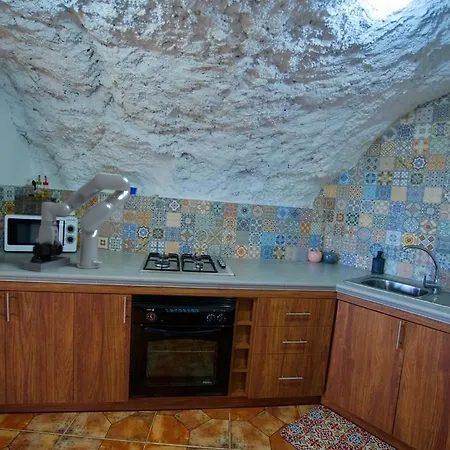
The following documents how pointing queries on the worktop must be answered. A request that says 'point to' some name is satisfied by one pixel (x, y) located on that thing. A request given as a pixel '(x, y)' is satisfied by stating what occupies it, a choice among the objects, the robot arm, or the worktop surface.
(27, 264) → the holder tray
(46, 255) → the black irregular piece
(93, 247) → the robot arm
